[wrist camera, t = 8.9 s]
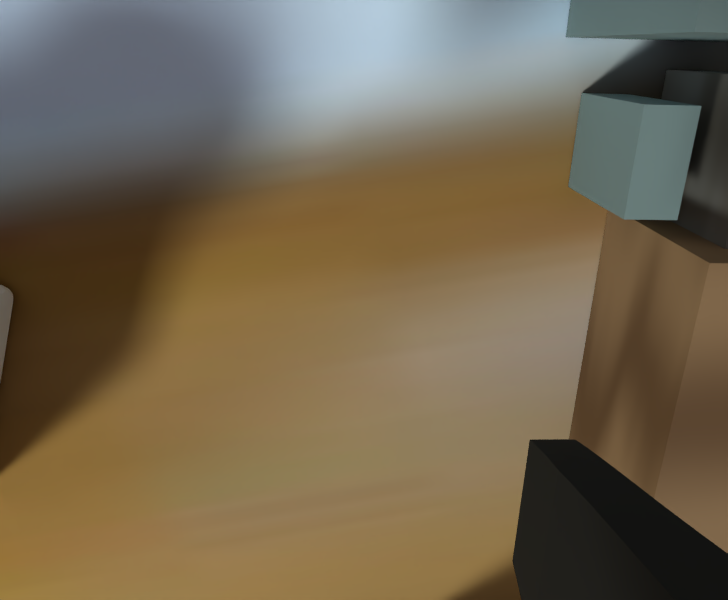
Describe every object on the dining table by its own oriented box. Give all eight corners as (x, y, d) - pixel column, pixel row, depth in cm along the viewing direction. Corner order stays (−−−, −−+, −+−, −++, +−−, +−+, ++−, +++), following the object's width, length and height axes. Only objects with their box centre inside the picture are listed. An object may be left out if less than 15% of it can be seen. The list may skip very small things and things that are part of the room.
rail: (658, 451, 21) (753, 570, 16) (567, 452, 20) (636, 571, 16) (747, 71, 16) (913, 81, 12) (631, 68, 16) (753, 77, 11)
